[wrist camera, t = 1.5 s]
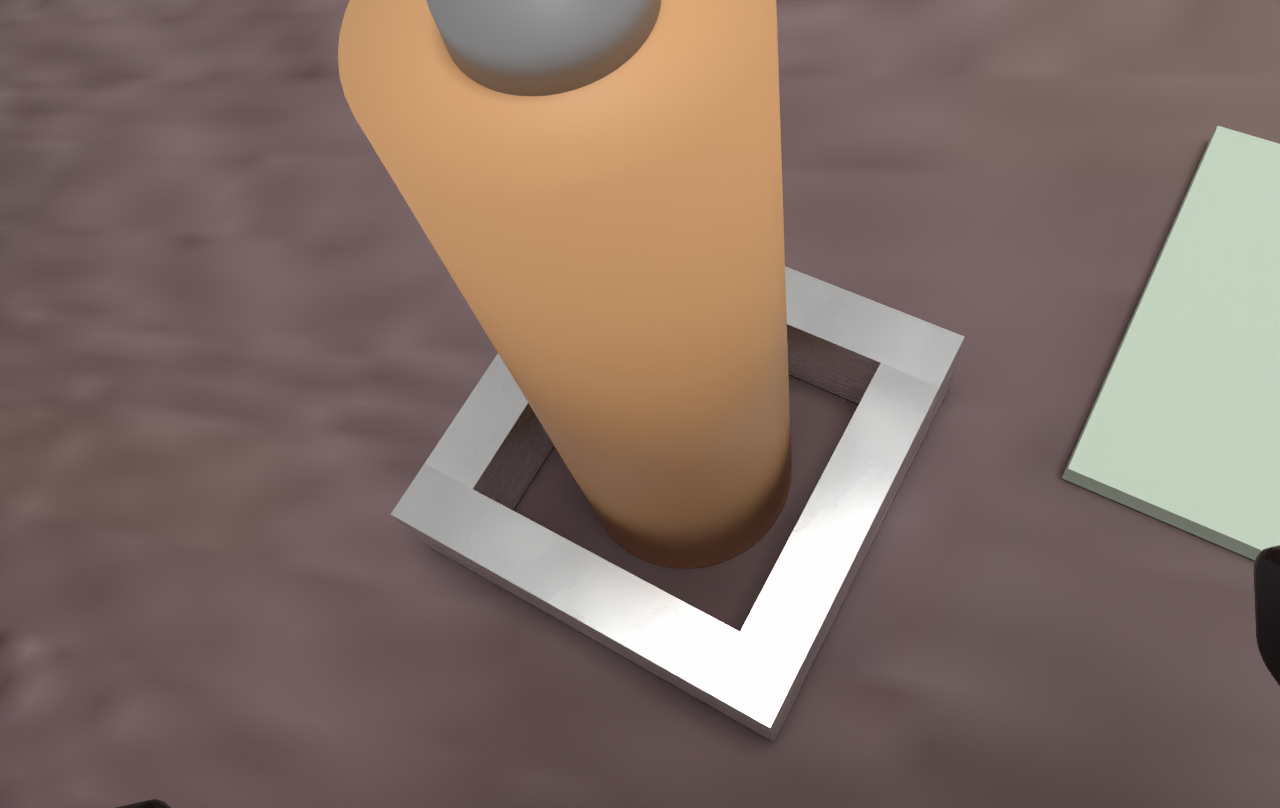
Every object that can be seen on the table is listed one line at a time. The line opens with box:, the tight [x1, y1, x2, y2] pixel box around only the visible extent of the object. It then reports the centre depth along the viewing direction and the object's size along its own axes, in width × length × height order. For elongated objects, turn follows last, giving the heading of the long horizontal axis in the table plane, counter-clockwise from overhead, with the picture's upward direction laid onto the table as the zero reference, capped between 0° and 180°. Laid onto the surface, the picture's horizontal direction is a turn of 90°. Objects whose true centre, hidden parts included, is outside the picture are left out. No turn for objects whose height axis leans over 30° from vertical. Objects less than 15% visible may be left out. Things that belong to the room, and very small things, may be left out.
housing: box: [391, 267, 964, 742], centre depth 22 cm, size 9×9×2 cm
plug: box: [338, 0, 791, 568], centre depth 17 cm, size 5×5×15 cm
